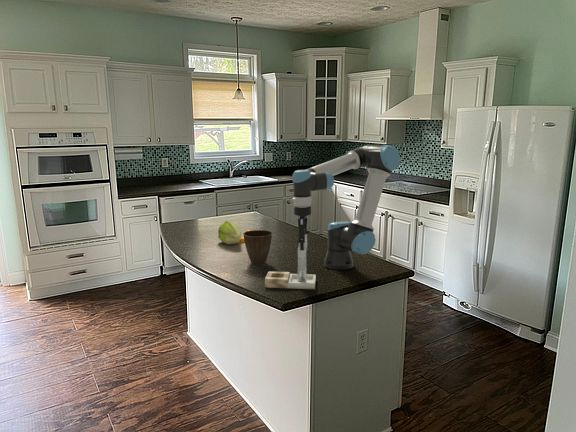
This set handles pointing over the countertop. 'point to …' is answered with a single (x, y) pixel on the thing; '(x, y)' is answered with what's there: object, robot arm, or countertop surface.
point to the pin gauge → (302, 267)
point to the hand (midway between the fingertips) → (303, 252)
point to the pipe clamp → (242, 238)
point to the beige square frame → (277, 279)
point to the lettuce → (229, 233)
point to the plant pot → (258, 245)
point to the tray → (299, 285)
